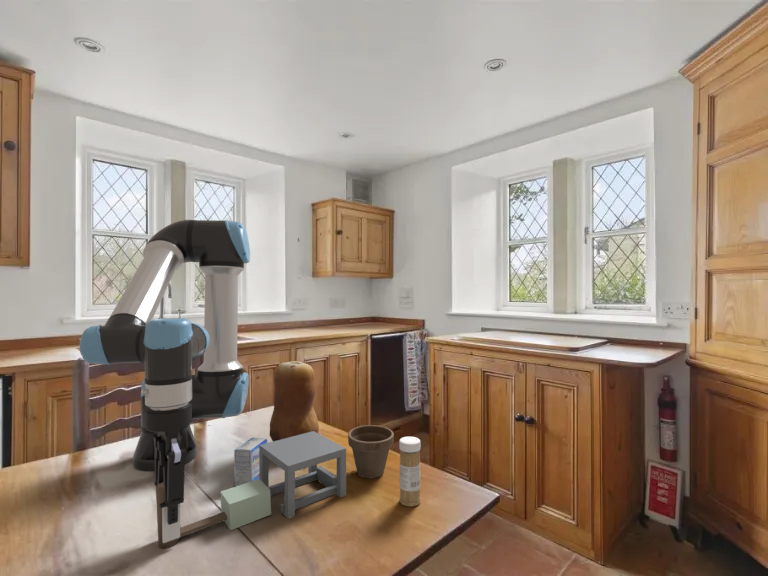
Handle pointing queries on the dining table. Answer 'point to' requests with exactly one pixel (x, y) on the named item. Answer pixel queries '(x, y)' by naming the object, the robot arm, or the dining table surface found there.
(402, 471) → the sprinkles bottle
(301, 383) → the butternut squash
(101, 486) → the dining table surface
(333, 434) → the dining table surface
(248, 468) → the medicine box
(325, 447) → the grey step stool
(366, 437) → the flower pot
